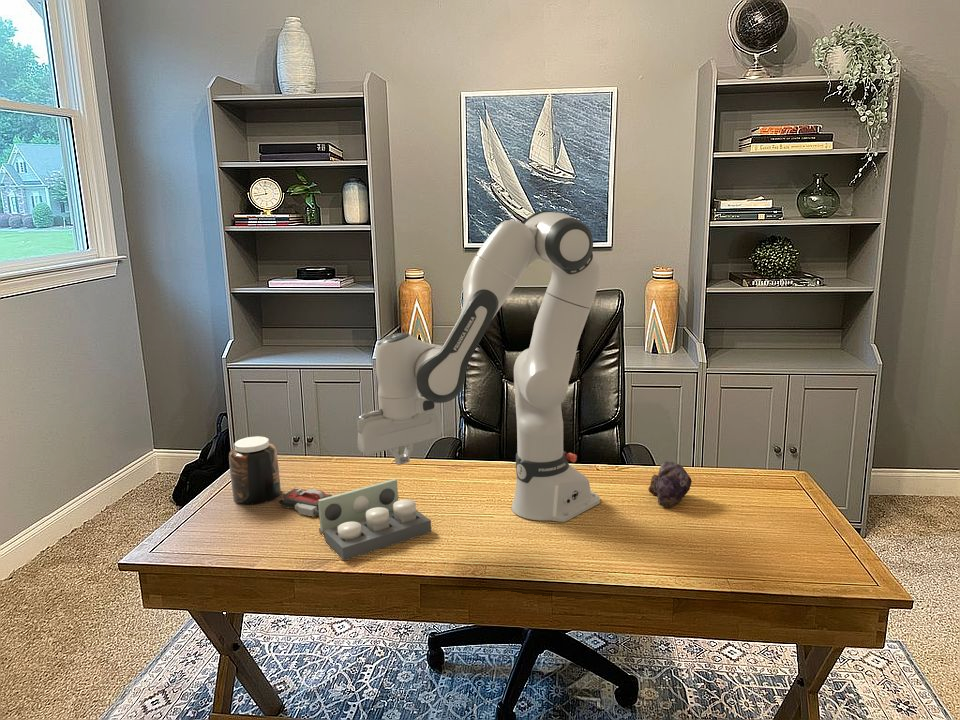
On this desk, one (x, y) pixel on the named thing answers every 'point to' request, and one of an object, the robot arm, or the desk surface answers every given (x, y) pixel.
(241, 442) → the jar
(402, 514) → the button
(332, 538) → the button board
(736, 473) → the desk surface
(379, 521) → the button middle
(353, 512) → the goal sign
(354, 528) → the button
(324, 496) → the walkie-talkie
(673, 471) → the rock
